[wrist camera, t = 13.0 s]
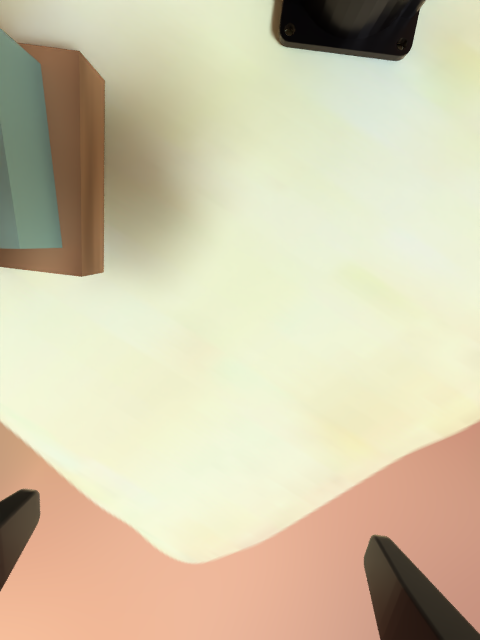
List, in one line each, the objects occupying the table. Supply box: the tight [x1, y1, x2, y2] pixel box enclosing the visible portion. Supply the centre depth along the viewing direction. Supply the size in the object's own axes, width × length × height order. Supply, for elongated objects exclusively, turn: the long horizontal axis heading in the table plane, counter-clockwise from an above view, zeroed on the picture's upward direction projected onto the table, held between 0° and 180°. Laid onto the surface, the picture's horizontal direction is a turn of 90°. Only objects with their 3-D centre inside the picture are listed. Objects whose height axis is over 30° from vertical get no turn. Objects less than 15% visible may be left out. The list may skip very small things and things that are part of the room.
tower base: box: [0, 43, 105, 277], centre depth 16 cm, size 10×10×3 cm
